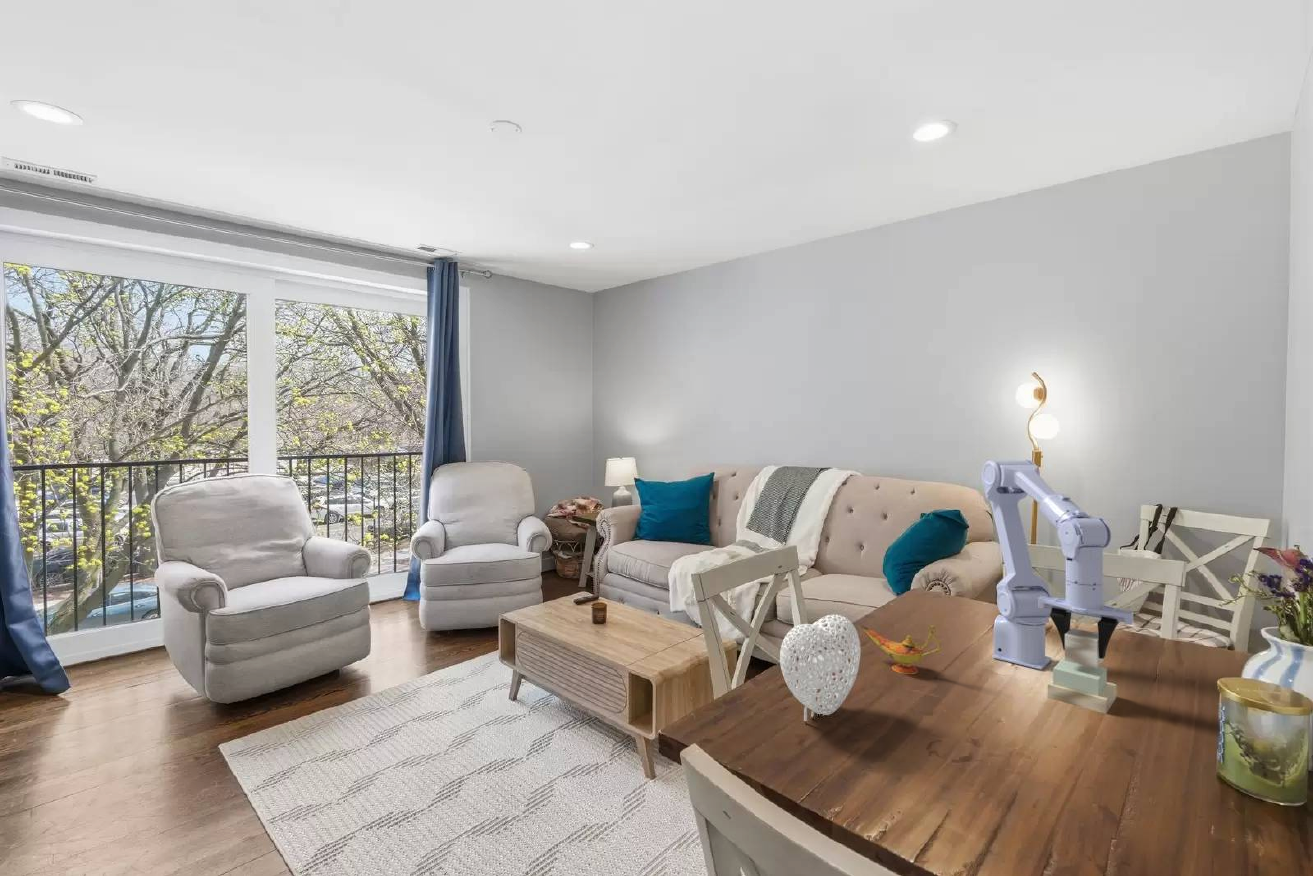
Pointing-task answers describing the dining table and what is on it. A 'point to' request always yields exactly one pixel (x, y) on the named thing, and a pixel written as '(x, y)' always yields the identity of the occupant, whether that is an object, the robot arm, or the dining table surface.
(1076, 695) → the birch slab
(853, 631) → the decorative heart
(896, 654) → the magic lamp
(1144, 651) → the dining table surface
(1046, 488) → the robot arm
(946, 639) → the dining table surface
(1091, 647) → the ivory cube
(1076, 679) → the sage block
